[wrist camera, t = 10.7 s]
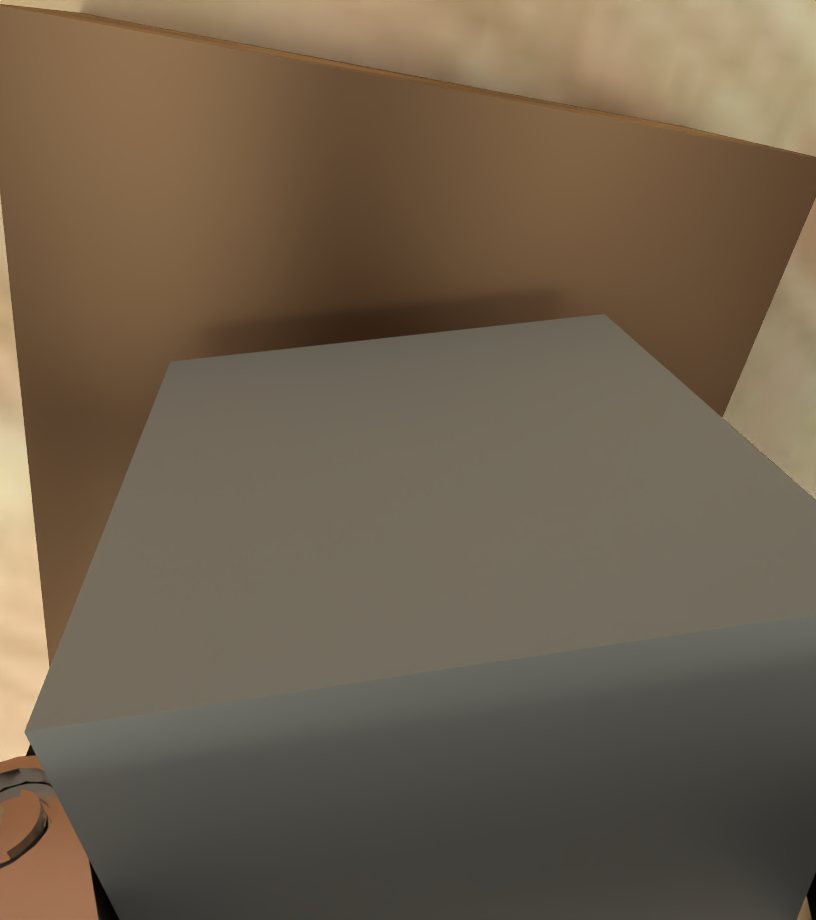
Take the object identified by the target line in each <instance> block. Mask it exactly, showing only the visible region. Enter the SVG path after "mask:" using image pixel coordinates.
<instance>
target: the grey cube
mask: <svg viewBox="0 0 816 920" xmlns="http://www.w3.org/2000/svg"><path fill="white" fill-rule="evenodd" d="M25 734H26V736H27V738H28V740H29V742H30V744H31V746H32V748H33V750H34V752H35V754H36V756H37V758H38V760H39V762H40V764H41V766H42V768H43V770H44V772H45V774H46V776H47V778H48V780H49V782H50V783H51V785H52V787H53V789H54V791H55V793H56V795H57V797H58V799H59V801H60V803H61V805H62V807H63V809H64V811H65V813H66V815H67V817H68V819H69V821H70V823H71V825H72V827H73V829H74V831H75V833H76V835H77V837H78V839H79V841H80V843H81V845H82V847H83V848H84V850H85V852H86V854H87V856H88V858H89V860H90V862H91V864H92V866H93V868H94V870H95V872H96V874H97V876H98V878H99V880H100V882H101V884H102V886H103V888H104V890H105V892H106V894H107V896H108V898H109V900H110V902H111V904H112V906H113V908H114V910H115V912H116V914H117V915H118V917H119V919H120V920H797V918H798V915H799V913H800V910H801V908H802V905H803V903H804V900H805V898H806V895H807V893H808V890H809V888H810V885H811V883H812V880H813V878H814V875H815V873H816V500H815V499H814V498H813V497H811V496H810V495H809V494H808V493H807V492H806V491H805V490H804V489H802V488H801V487H800V486H799V485H798V484H797V483H796V482H794V481H793V480H792V479H791V478H790V477H789V476H788V475H787V474H785V473H784V472H783V471H782V470H781V469H780V468H779V467H777V466H776V465H775V464H774V463H773V462H772V461H771V460H770V459H768V458H767V457H766V456H765V455H764V454H763V453H762V452H760V451H759V450H758V449H757V448H756V447H755V446H754V445H753V444H751V443H750V442H749V441H748V440H747V439H746V438H745V437H743V436H742V435H741V434H740V433H739V432H738V431H737V430H736V429H734V428H733V427H732V426H731V425H730V424H729V423H728V422H726V421H725V420H724V419H723V418H722V417H721V416H720V415H718V414H717V413H716V412H715V411H714V410H713V409H712V408H711V407H709V406H708V405H707V404H706V403H705V402H704V401H703V400H701V399H700V398H699V397H698V396H697V395H696V394H695V393H694V392H692V391H691V390H690V389H689V388H688V387H687V386H686V385H684V384H683V383H682V382H681V381H680V380H679V379H678V378H677V377H675V376H674V375H673V374H672V373H671V372H670V371H669V370H667V369H666V368H665V367H664V366H663V365H662V364H661V363H660V362H658V361H657V360H656V359H655V358H654V357H653V356H652V355H650V354H649V353H648V352H647V351H646V350H645V349H644V348H643V347H641V346H640V345H639V344H638V343H637V342H636V341H635V340H633V339H632V338H631V337H630V336H629V335H628V334H627V333H625V332H624V331H623V330H622V329H621V328H620V327H619V326H618V325H616V324H615V323H614V322H613V321H612V320H611V319H610V318H608V317H607V316H606V315H605V314H600V315H591V316H582V317H573V318H563V319H554V320H545V321H536V322H527V323H518V324H509V325H500V326H491V327H481V328H472V329H463V330H454V331H445V332H436V333H427V334H418V335H409V336H399V337H390V338H381V339H372V340H363V341H354V342H345V343H336V344H327V345H317V346H308V347H299V348H290V349H281V350H272V351H263V352H254V353H245V354H235V355H226V356H217V357H208V358H199V359H190V360H181V361H172V362H170V364H169V366H168V369H167V371H166V374H165V376H164V379H163V381H162V384H161V386H160V389H159V392H158V394H157V397H156V399H155V402H154V404H153V407H152V409H151V412H150V414H149V417H148V420H147V422H146V425H145V427H144V430H143V432H142V435H141V437H140V440H139V442H138V445H137V447H136V450H135V453H134V455H133V458H132V460H131V463H130V465H129V468H128V470H127V473H126V475H125V478H124V480H123V483H122V486H121V488H120V491H119V493H118V496H117V498H116V501H115V503H114V506H113V508H112V511H111V513H110V516H109V519H108V521H107V524H106V526H105V529H104V531H103V534H102V536H101V539H100V541H99V544H98V547H97V549H96V552H95V554H94V557H93V559H92V562H91V564H90V567H89V569H88V572H87V574H86V577H85V580H84V582H83V585H82V587H81V590H80V592H79V595H78V597H77V600H76V602H75V605H74V607H73V610H72V613H71V615H70V618H69V620H68V623H67V625H66V628H65V630H64V633H63V635H62V638H61V641H60V643H59V646H58V648H57V651H56V653H55V656H54V658H53V661H52V663H51V666H50V668H49V671H48V674H47V676H46V679H45V681H44V684H43V686H42V689H41V691H40V694H39V696H38V699H37V701H36V704H35V707H34V709H33V712H32V714H31V717H30V719H29V722H28V724H27V727H26V729H25Z"/></svg>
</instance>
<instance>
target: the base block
mask: <svg viewBox="0 0 816 920" xmlns="http://www.w3.org/2000/svg"><path fill="white" fill-rule="evenodd" d="M0 195H1V204H2V214H3V223H4V233H5V243H6V252H7V262H8V272H9V281H10V291H11V301H12V310H13V320H14V329H15V339H16V349H17V358H18V368H19V378H20V387H21V397H22V407H23V416H24V426H25V435H26V445H27V455H28V464H29V474H30V484H31V493H32V503H33V513H34V522H35V532H36V541H37V551H38V561H39V570H40V580H41V590H42V599H43V609H44V619H45V628H46V638H47V647H48V657H49V667H50V666H51V663H52V661H53V658H54V656H55V653H56V651H57V648H58V646H59V643H60V641H61V638H62V635H63V633H64V630H65V628H66V625H67V623H68V620H69V618H70V615H71V613H72V610H73V607H74V605H75V602H76V600H77V597H78V595H79V592H80V590H81V587H82V585H83V582H84V580H85V577H86V574H87V572H88V569H89V567H90V564H91V562H92V559H93V557H94V554H95V552H96V549H97V547H98V544H99V541H100V539H101V536H102V534H103V531H104V529H105V526H106V524H107V521H108V519H109V516H110V513H111V511H112V508H113V506H114V503H115V501H116V498H117V496H118V493H119V491H120V488H121V486H122V483H123V480H124V478H125V475H126V473H127V470H128V468H129V465H130V463H131V460H132V458H133V455H134V453H135V450H136V447H137V445H138V442H139V440H140V437H141V435H142V432H143V430H144V427H145V425H146V422H147V420H148V417H149V414H150V412H151V409H152V407H153V404H154V402H155V399H156V397H157V394H158V392H159V389H160V386H161V384H162V381H163V379H164V376H165V374H166V371H167V369H168V366H169V364H170V362H172V361H181V360H190V359H199V358H208V357H217V356H226V355H235V354H245V353H254V352H263V351H272V350H281V349H290V348H299V347H308V346H317V345H327V344H336V343H345V342H354V341H363V340H372V339H381V338H390V337H399V336H409V335H418V334H427V333H436V332H445V331H454V330H463V329H472V328H481V327H491V326H500V325H509V324H518V323H527V322H536V321H545V320H554V319H563V318H573V317H582V316H591V315H600V314H605V315H606V316H607V317H608V318H610V319H611V320H612V321H613V322H614V323H615V324H616V325H618V326H619V327H620V328H621V329H622V330H623V331H624V332H625V333H627V334H628V335H629V336H630V337H631V338H632V339H633V340H635V341H636V342H637V343H638V344H639V345H640V346H641V347H643V348H644V349H645V350H646V351H647V352H648V353H649V354H650V355H652V356H653V357H654V358H655V359H656V360H657V361H658V362H660V363H661V364H662V365H663V366H664V367H665V368H666V369H667V370H669V371H670V372H671V373H672V374H673V375H674V376H675V377H677V378H678V379H679V380H680V381H681V382H682V383H683V384H684V385H686V386H687V387H688V388H689V389H690V390H691V391H692V392H694V393H695V394H696V395H697V396H698V397H699V398H700V399H701V400H703V401H704V402H705V403H706V404H707V405H708V406H709V407H711V408H712V409H713V410H714V411H715V412H716V413H717V414H718V415H720V416H721V417H723V414H724V412H725V410H726V407H727V405H728V403H729V400H730V398H731V396H732V393H733V391H734V388H735V386H736V384H737V381H738V379H739V377H740V374H741V372H742V370H743V367H744V365H745V363H746V360H747V358H748V355H749V353H750V351H751V348H752V346H753V344H754V341H755V339H756V337H757V334H758V332H759V330H760V327H761V325H762V322H763V320H764V318H765V315H766V313H767V311H768V308H769V306H770V304H771V301H772V299H773V297H774V294H775V292H776V289H777V287H778V285H779V282H780V280H781V278H782V275H783V273H784V271H785V268H786V266H787V264H788V261H789V259H790V256H791V254H792V252H793V249H794V247H795V245H796V242H797V240H798V238H799V235H800V233H801V231H802V228H803V226H804V223H805V221H806V219H807V216H808V214H809V212H810V209H811V207H812V205H813V202H814V200H815V198H816V157H814V156H809V155H805V154H801V153H796V152H792V151H788V150H783V149H779V148H775V147H770V146H766V145H762V144H757V143H753V142H749V141H744V140H740V139H736V138H731V137H727V136H722V135H718V134H714V133H709V132H705V131H701V130H696V129H692V128H687V127H682V126H677V125H672V124H666V123H661V122H656V121H650V120H645V119H640V118H634V117H629V116H624V115H618V114H613V113H608V112H603V111H597V110H592V109H587V108H581V107H576V106H571V105H565V104H560V103H555V102H549V101H544V100H539V99H534V98H528V97H523V96H518V95H512V94H507V93H502V92H496V91H491V90H486V89H480V88H475V87H470V86H465V85H459V84H454V83H449V82H443V81H438V80H433V79H427V78H422V77H417V76H411V75H406V74H401V73H396V72H390V71H385V70H380V69H374V68H369V67H364V66H358V65H353V64H348V63H342V62H337V61H332V60H327V59H321V58H316V57H311V56H305V55H300V54H295V53H289V52H284V51H279V50H273V49H268V48H263V47H258V46H252V45H247V44H242V43H236V42H231V41H226V40H220V39H215V38H210V37H204V36H199V35H194V34H189V33H183V32H178V31H173V30H167V29H162V28H157V27H151V26H146V25H141V24H135V23H130V22H125V21H120V20H114V19H109V18H104V17H98V16H93V15H88V14H82V13H75V12H67V11H58V10H49V9H40V8H31V7H22V6H13V5H4V4H0Z"/></svg>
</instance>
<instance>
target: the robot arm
mask: <svg viewBox="0 0 816 920" xmlns="http://www.w3.org/2000/svg"><path fill="white" fill-rule="evenodd" d="M0 920H120V919H119V917H118V915H117V914H116V912H115V910H114V908H113V906H112V904H111V902H110V900H109V898H108V896H107V894H106V892H105V890H104V888H103V886H102V884H101V882H100V880H99V878H98V876H97V874H96V872H95V870H94V868H93V866H92V864H91V862H90V860H89V858H88V856H87V854H86V852H85V850H84V848H83V847H82V845H81V843H80V841H79V839H78V837H77V835H76V833H75V831H74V829H73V827H72V825H71V823H70V821H69V819H68V817H67V815H66V813H65V811H64V809H63V807H62V805H61V803H60V801H59V799H58V797H57V795H56V793H55V791H54V789H53V787H52V785H51V783H50V782H49V780H48V778H47V776H46V774H45V772H44V770H43V768H42V766H41V764H40V762H39V760H38V758H37V756H36V754H35V752H34V750H33V748H32V746H31V744H30V746H29V749H28V752H27V754H26V756H21V757H16V758H13V759H10V760H7V761H3V762H0ZM797 920H816V873H815V875H814V878H813V880H812V883H811V885H810V888H809V890H808V893H807V895H806V898H805V900H804V903H803V905H802V908H801V910H800V913H799V915H798V918H797Z"/></svg>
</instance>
